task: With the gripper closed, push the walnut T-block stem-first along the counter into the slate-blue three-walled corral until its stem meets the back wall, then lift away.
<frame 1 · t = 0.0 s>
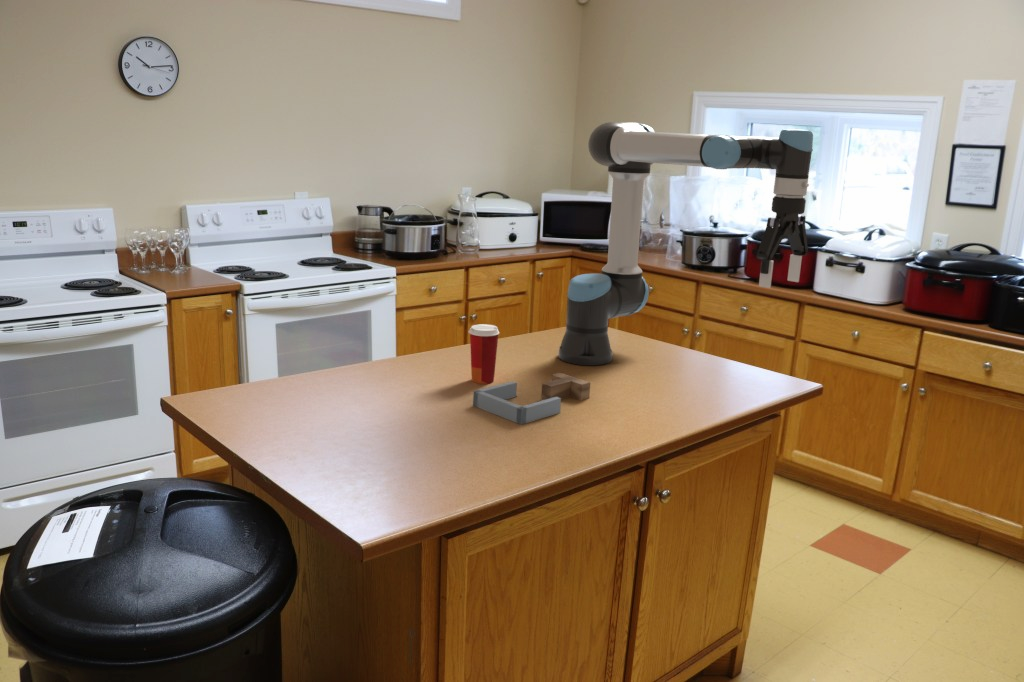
hand: (779, 284, 206), 28 cm above the countertop, fingers open, 13 cm apart
tee block: (569, 394, 207), on the countertop
corral: (517, 408, 195), on the countertop
paper cup: (482, 381, 215), on the countertop
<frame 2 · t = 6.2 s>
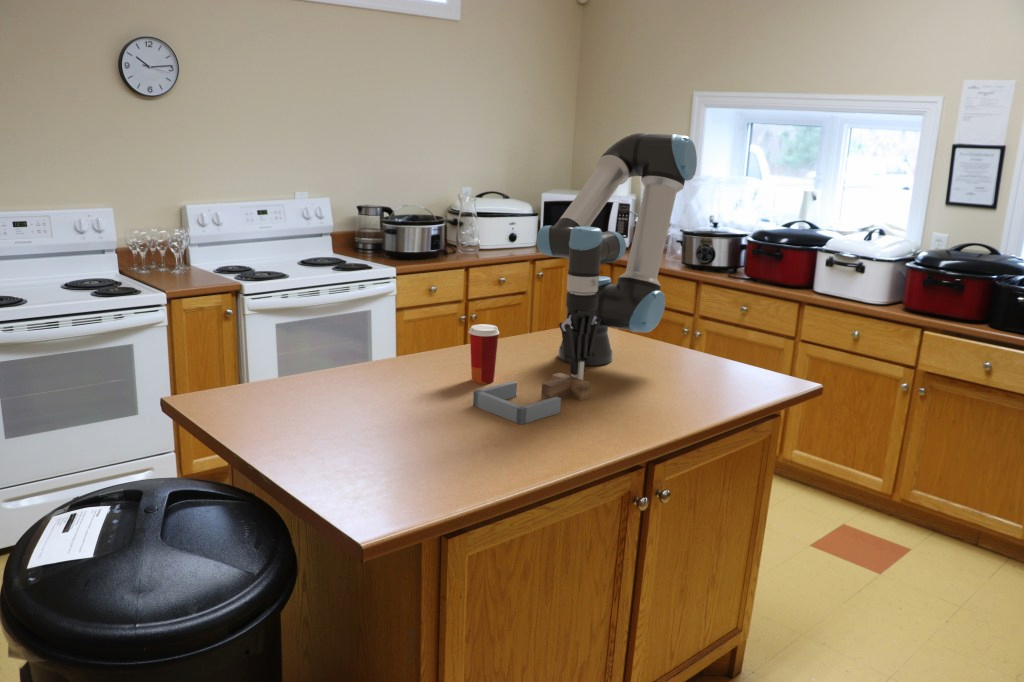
hand: (576, 386, 208), 2 cm above the countertop, fingers closed
tee block: (569, 394, 207), on the countertop, touching gripper
everything else where it was.
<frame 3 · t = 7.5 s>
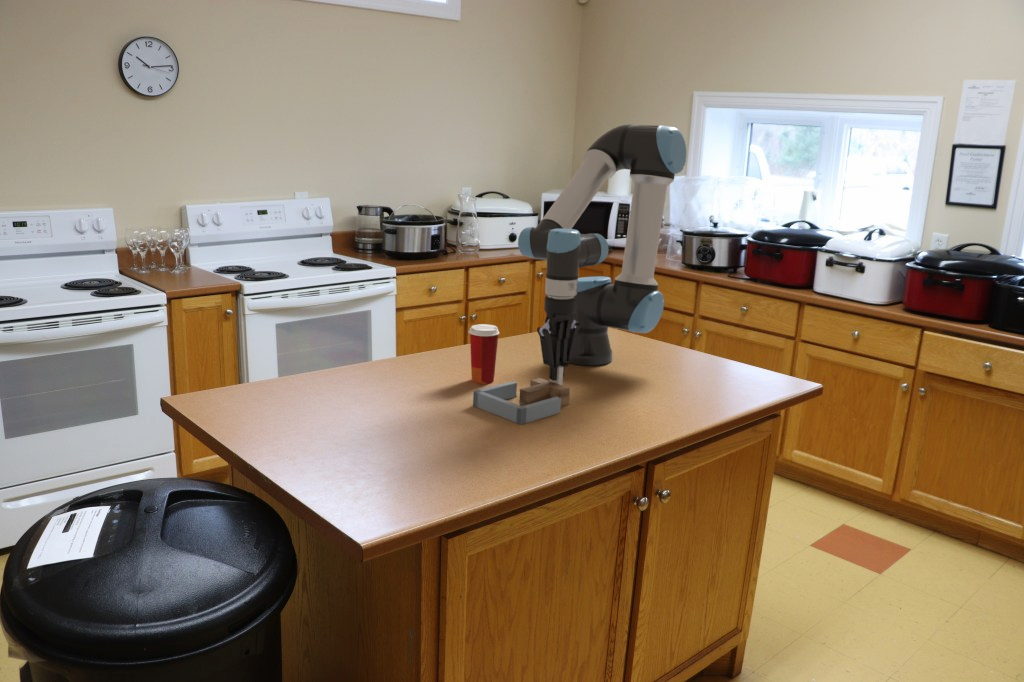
hand: (555, 391, 203), 2 cm above the countertop, fingers closed
tee block: (549, 399, 202), on the countertop, touching gripper
everything else where it was.
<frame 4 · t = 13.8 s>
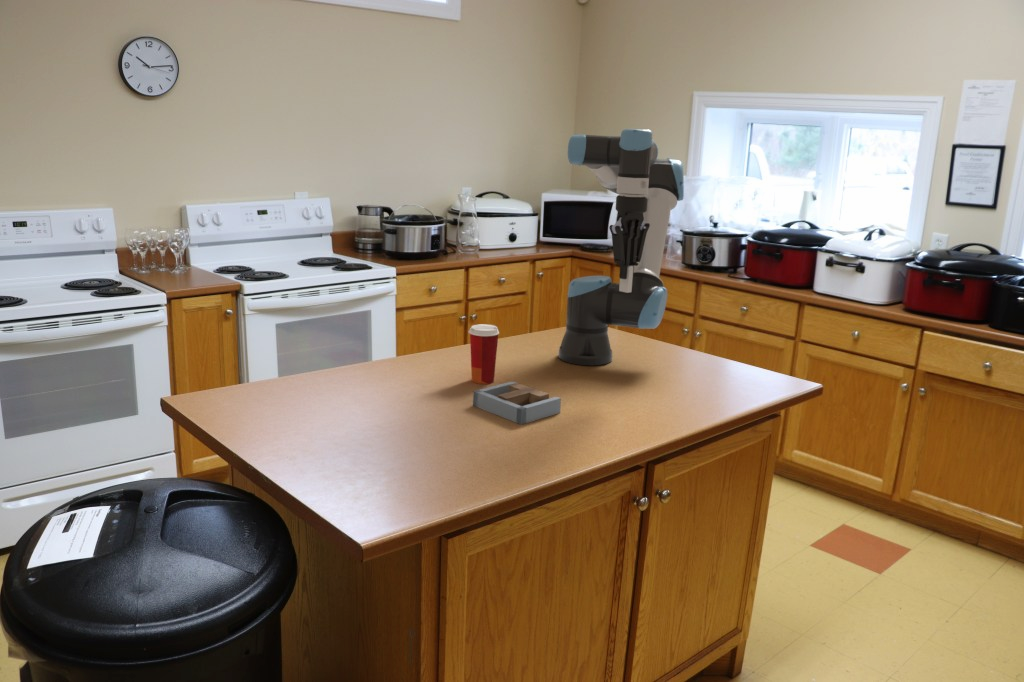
hand: (625, 291, 209), 24 cm above the countertop, fingers closed
tee block: (528, 406, 197), on the countertop
everything else where it was.
at the end: tee block 0.2 cm from the target spot on the corral, point 0.0 cm above the corral's base; tee block moved 14.4 cm from its start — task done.
